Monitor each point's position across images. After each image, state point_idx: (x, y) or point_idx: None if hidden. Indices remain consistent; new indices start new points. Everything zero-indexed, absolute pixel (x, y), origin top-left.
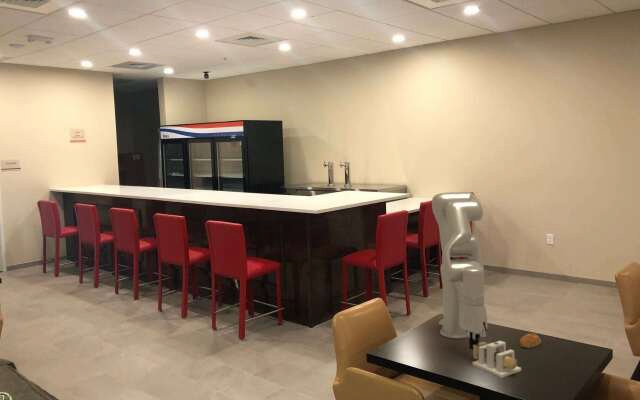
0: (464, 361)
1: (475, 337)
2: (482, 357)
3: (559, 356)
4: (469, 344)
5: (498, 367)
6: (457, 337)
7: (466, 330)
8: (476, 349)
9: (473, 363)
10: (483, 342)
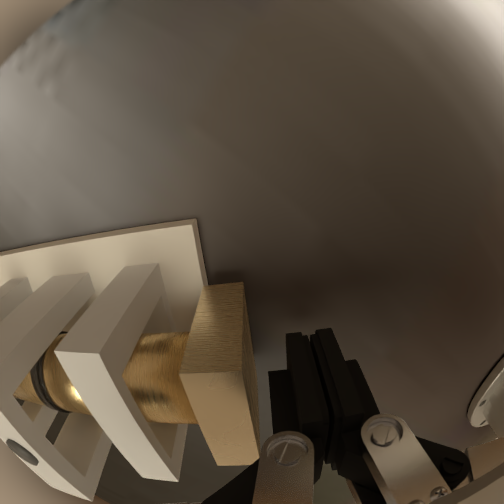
0: (290, 209)
1: (257, 475)
2: (101, 298)
3: (155, 498)
4: (339, 357)
5: (3, 290)
6: (499, 368)
7: (457, 472)
8: (190, 341)
9: (180, 225)
10: (241, 457)
